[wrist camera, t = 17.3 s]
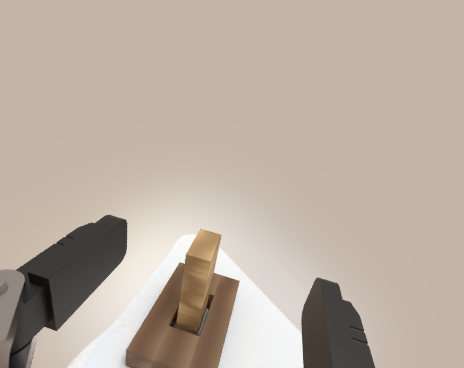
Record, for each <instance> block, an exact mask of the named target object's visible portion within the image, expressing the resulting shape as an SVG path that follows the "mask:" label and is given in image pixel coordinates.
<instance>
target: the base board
mask: <svg viewBox="0 0 464 368" xmlns="http://www.w3.org/2000/svg"><path fill="white" fill-rule="evenodd" d="M184 266H185V264H183V263H179V265H178V266H177V268H176V270H175V271H174V273H173V274H172V276H171V278H170V279H169V281H168V283H167V284H166V286H165V288H164V289H163V291H162V292H161V294H160V296H159V297H158V299H157V301H156V302H155V304H154V306H153V307H152V309H151V311H150V312H149V314H148V315H147V317H146V319H145V320H144V322H143V324H142V325H141V327H140V329H139V330H138V332H137V333H136V335H135V337H134V338H133V340H132V342H131V343H130V345H129V347H128V348H127V350H126V365H127V366H130V367H132V368H218V365H219V361H220V357H221V353H222V349H223V345H224V341H225V337H226V333H227V329H228V325H229V321H230V317H231V313H232V309H233V305H234V301H235V297H236V293H237V290H238V286H239V282H240V281H238V280H235V279H231V278H228V277H225V276H222V275H219V274H215V273H213V278H212V283H211V288H210V293H209V297H208V302H207V307H208V308H210V309H209V311H208V314H207V317H206V320H205V323H204V326H203V328H202V331H201V334H200V336H197V335H194V334H191V333H188V332H185V331H182V330H180V329H177V328H174V327H173V326H174V324H175V322H176V320H177V316H178V309H179V302H180V295H181V288H182V281H183V274H184Z"/></svg>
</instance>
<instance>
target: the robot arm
mask: <svg viewBox="0 0 464 368" xmlns="http://www.w3.org/2000/svg"><path fill="white" fill-rule="evenodd" d="M126 250H127V222H126V220H125V219H121V218H118V217H115V216H112V215H106V216H104V217H103V218H101V219H100V220H99V221H97V222H96V223H89V224H87V225H84V226H81V227H78V228H77V229H76V230H74V231H72V232H71V233H69V234H68V235H66V237H64V238H62V239H61V240H59V241H58V242H57V243H56V244H53V245H52V246H51V247H49V248H48V249H46V250H45V251H43V252H42V253H40V254H39V255H37V256H36V257H35V258H33V259H31V260H30V261H29V262H27V263H26V264H24V265H23V266H21V267H20V268H18V269H17V270H0V368H31V363H32V358H33V354H34V349H35V344H36V340H37V336H36V334H37V333H38V332H39V331H40V330H41V329H42V328H43V327H47V328H50V329H52V330H55V331H57V330H58V329H59V328H60V327H61V326H62V325H63V324H64V323H65V322H66V321H67V319H68V318H69V317H70V316H71V315H72V314H73V313H74V312H75V311H76V310H77V309H78V308H79V306H81V305H82V303H83V302H84V301H85V300H86V299H87V298H88V297H89V296H90V295H91V294H92V293H93V292H94V291H95V290H96V288H97V287H98V286H99V285H100V284H101V283H102V282H103V281H104V280H105V279H106V278H107V277H108V276H109V275H110V274H111V272H112V271H113V270H114V269H115V268H116V267H117V266H118V265H119V264H120V263H121V262H122V260H123V258H124V256H125V254H126ZM302 343H303V364H304V368H375V366H374V362H373V359H372V355H371V353H370V349H369V346H368V345H367V343H368V342H367V339H366V335H365V333H364V329H363V325H362V322H361V319H360V316H359V314H358V313H357V311H356V310H355V308H354V307H353V305H352V304H351V303H350V302H348V301H345V300H342V296H341V292H340V287H339V285H338V284H337V283H334V282H331V281H328V280H324V279H321V278H316V280H315V281H314V284H313V286H312V288H311V291H310V293H309V295H308V298H307V300H306V302H305V304H304V307H303V312H302Z"/></svg>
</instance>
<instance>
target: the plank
mask: <svg viewBox="0 0 464 368" xmlns="http://www.w3.org/2000/svg"><path fill="white" fill-rule="evenodd" d="M220 240H221V235H220V234H216V233H213V232H210V231H206V230H202V229H200V231H199V232H198V234H197V236H196V238H195V240H194V241H193V243H192V245H191V247H190V249H189V250H188V252H187V254H186V259H185V266H184V274H183V281H182V288H181V295H180V302H179V309H178V316H177V323H176V328H177V329H180V330H182V331H185V332H188V333H191V334H194V335H198V332H199V329H200V326H201V323H202V320H203V317H204V314H205V311H206V307H207V302H208V297H209V293H210V288H211V283H212V278H213V273H214V269H215V264H216V259H217V254H218V249H219V244H220Z"/></svg>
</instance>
